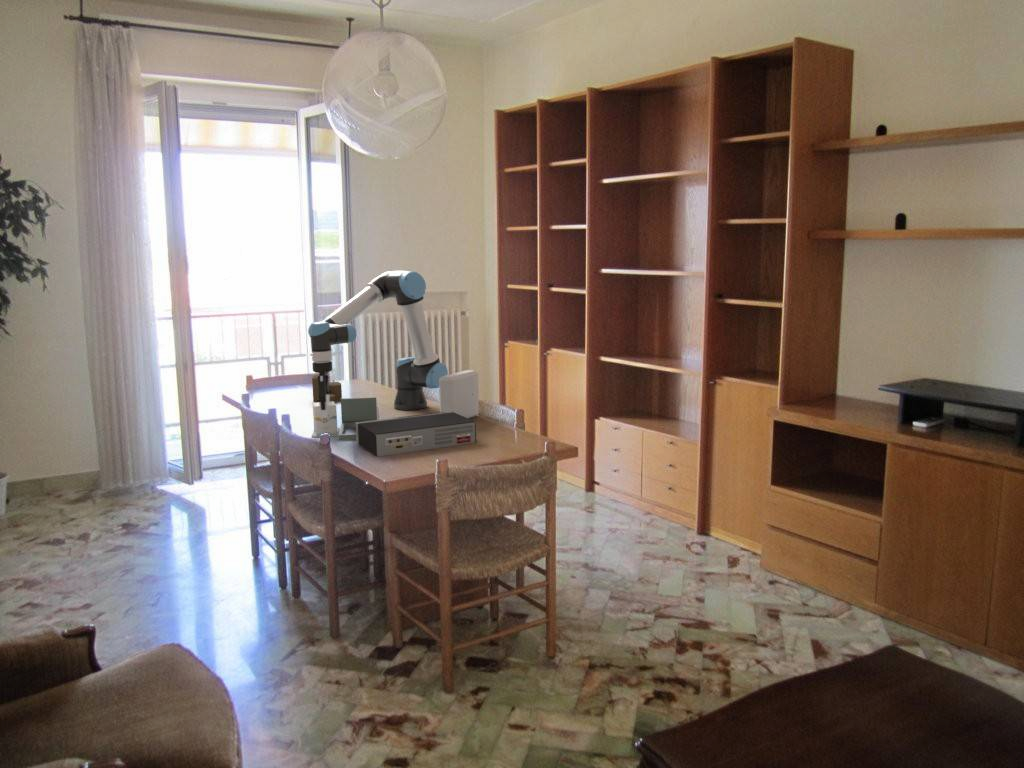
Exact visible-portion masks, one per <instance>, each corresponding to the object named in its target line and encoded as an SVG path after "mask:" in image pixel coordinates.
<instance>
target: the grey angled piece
mask: <svg viewBox="0 0 1024 768" xmlns="http://www.w3.org/2000/svg"><path fill="white" fill-rule="evenodd" d="M340 410H341V424H340V428H339V429H340V430H339V433H338V436H337V438H338V441H354V440H355V441H356V433H346V434H344V433H345V429H356V422H363V421H372V420H380V403H377V397H375V396H374V397H373V396H371V397H351V398H350V397H346V398H343V397H342V399H341V401H340Z"/></svg>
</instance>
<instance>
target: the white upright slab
mask: <svg viewBox="0 0 1024 768" xmlns="http://www.w3.org/2000/svg"><path fill="white" fill-rule="evenodd" d="M438 391H439V412H447V411H453V412H455V413H457V414H459V415H461V416H464V417H466V418H468V419H471V418H475V417H477V416H478V415H479V413H480V408H479V407H480V406H479V374H478V372H477V371H476V370H473V369H472V370H471V369H465V370H463V371H457V372H455V373H451V374H448V375H446V376H442V377H441V378H440V379H439V388H438ZM472 394H473V395H472Z"/></svg>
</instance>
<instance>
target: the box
mask: <svg viewBox="0 0 1024 768" xmlns="http://www.w3.org/2000/svg"><path fill="white" fill-rule="evenodd" d="M355 432H356V433H355V434H356V440H355V441H356V445H357V446H359V447H361V448H363V449H364V450H365V451H367V452H368V453H370V454H372V455H373V456H374V457H382V456H389V455H397V454H403V453H410V452H411V453H412V452H419V451H424V450H432V449H433V450H434V449H440V448H447V447H452V446H453V447H454V446H460V445H466V444H467V445H468V444H474V443H475V444H476V443H477V423H476V421H475V420H473V419H471V418H469V419H468V418H466V417H464V416H461V415H459V414H457V413H455V412H453V411H447V412H440V411H439V412H431V413H423V414H415V415H408V416H407V415H406V416H399V417H390V418H384V419H381V418H379V420H378V419H377V420H372V421H363V422H356V428H355Z"/></svg>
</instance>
